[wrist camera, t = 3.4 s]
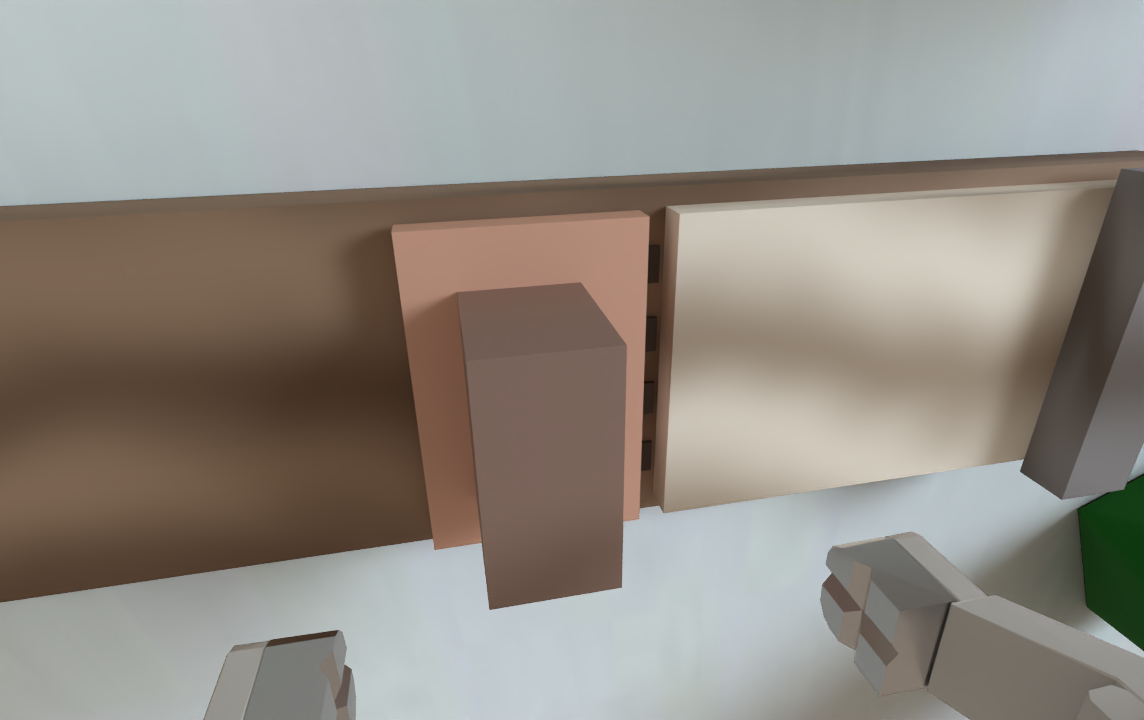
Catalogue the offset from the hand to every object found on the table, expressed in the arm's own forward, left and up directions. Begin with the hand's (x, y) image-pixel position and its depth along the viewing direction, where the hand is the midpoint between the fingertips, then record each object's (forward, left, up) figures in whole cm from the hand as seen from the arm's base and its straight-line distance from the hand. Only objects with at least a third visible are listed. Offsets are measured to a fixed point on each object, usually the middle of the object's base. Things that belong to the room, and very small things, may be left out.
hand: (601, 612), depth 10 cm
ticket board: (0, +2, -10) cm, 10 cm away
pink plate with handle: (0, 0, -8) cm, 8 cm away
